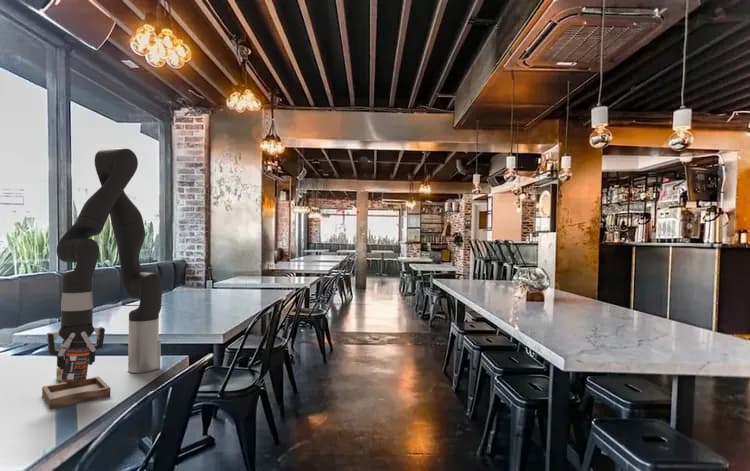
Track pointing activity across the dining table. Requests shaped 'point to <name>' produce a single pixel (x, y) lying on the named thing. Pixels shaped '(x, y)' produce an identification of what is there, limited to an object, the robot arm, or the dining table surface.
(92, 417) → the dining table surface
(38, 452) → the dining table surface
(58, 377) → the beech block
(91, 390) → the walnut tray
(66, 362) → the supplement bottle
